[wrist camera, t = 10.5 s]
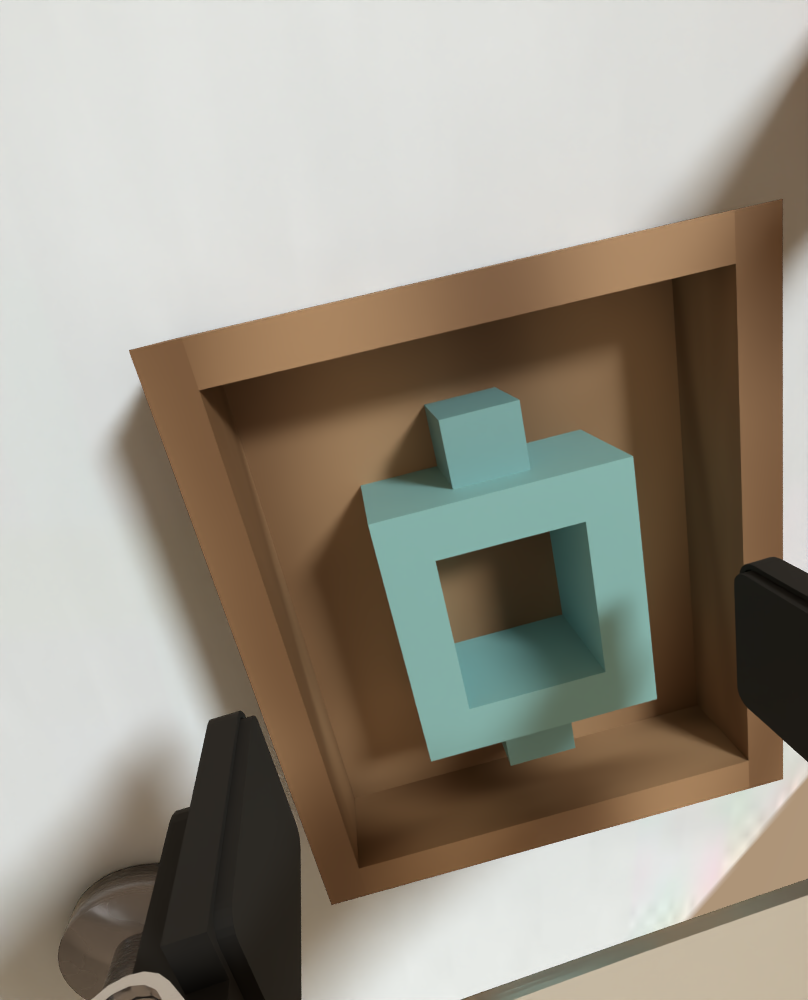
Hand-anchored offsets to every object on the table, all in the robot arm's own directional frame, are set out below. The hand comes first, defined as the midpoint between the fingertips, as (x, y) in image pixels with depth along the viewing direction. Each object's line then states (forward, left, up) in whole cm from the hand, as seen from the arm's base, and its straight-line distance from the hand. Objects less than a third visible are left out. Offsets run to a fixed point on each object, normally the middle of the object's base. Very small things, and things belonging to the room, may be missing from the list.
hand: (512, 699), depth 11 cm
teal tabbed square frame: (+1, 0, -5) cm, 5 cm away
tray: (+1, 0, -6) cm, 6 cm away
